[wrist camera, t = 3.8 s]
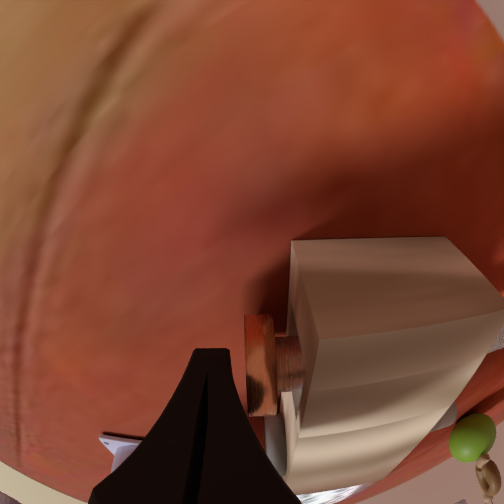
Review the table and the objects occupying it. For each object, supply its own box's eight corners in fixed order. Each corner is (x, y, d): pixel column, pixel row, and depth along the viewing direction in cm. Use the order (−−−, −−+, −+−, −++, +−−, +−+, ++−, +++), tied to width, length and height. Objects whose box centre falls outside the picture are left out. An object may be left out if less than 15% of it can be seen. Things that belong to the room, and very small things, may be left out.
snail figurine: (440, 439, 25) (468, 522, 15) (443, 421, 22) (478, 520, 12) (480, 417, 24) (511, 496, 14) (488, 395, 21) (529, 488, 11)
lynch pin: (469, 330, 14) (501, 379, 11) (247, 359, 14) (249, 433, 11) (495, 274, 12) (538, 322, 9) (243, 294, 12) (245, 376, 9)
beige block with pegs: (416, 412, 20) (435, 462, 15) (263, 437, 20) (267, 497, 15) (505, 235, 12) (566, 292, 7) (264, 241, 11) (278, 342, 7)
